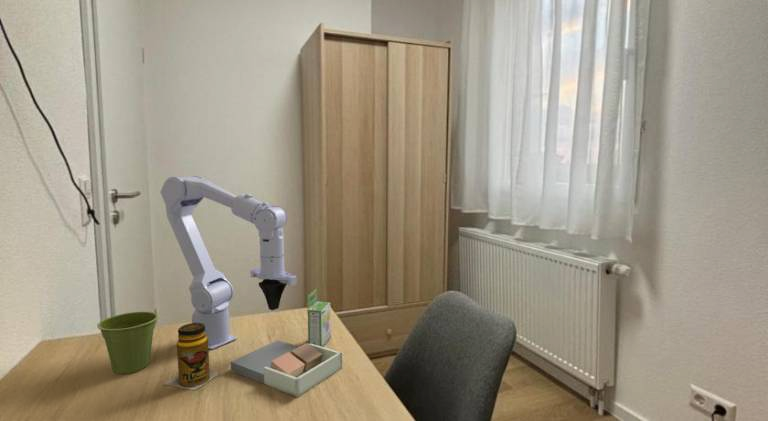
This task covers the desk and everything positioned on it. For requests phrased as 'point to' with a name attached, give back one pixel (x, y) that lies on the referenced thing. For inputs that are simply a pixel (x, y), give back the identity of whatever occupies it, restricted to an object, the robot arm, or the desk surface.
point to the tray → (305, 374)
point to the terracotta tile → (288, 365)
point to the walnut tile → (307, 356)
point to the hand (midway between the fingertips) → (273, 308)
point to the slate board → (260, 359)
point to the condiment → (192, 358)
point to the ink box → (318, 321)
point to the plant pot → (129, 340)
